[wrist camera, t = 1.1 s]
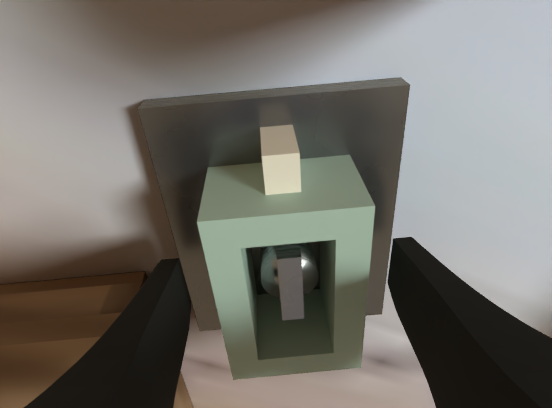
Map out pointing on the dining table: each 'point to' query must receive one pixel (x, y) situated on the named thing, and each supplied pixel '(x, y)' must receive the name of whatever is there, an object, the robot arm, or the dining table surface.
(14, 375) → the tray
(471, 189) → the dining table surface
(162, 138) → the grey hook plate
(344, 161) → the green hollow block
